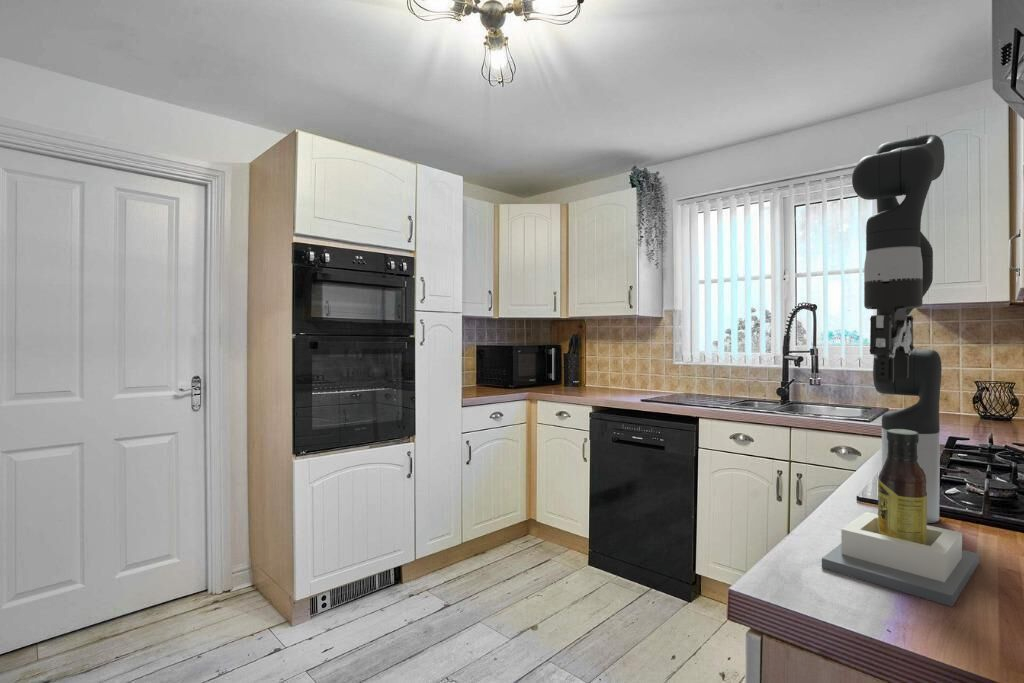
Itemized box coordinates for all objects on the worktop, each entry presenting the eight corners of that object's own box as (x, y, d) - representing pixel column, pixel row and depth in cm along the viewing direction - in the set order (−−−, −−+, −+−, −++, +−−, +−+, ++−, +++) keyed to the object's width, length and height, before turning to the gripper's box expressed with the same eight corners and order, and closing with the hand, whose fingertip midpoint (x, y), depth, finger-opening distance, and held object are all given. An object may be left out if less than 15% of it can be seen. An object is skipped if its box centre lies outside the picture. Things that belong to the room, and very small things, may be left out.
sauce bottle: (879, 544, 89) (879, 425, 88) (927, 553, 85) (927, 429, 85) (876, 557, 84) (876, 431, 83) (926, 568, 80) (926, 436, 79)
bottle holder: (863, 534, 97) (863, 504, 97) (979, 563, 85) (979, 528, 85) (821, 567, 84) (821, 532, 84) (952, 606, 72) (952, 566, 71)
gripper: (878, 282, 92) (878, 376, 92) (850, 278, 82) (850, 382, 83) (932, 279, 86) (932, 379, 87) (909, 273, 77) (909, 386, 77)
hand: (892, 380), depth 85 cm, fingers open, 8 cm apart
